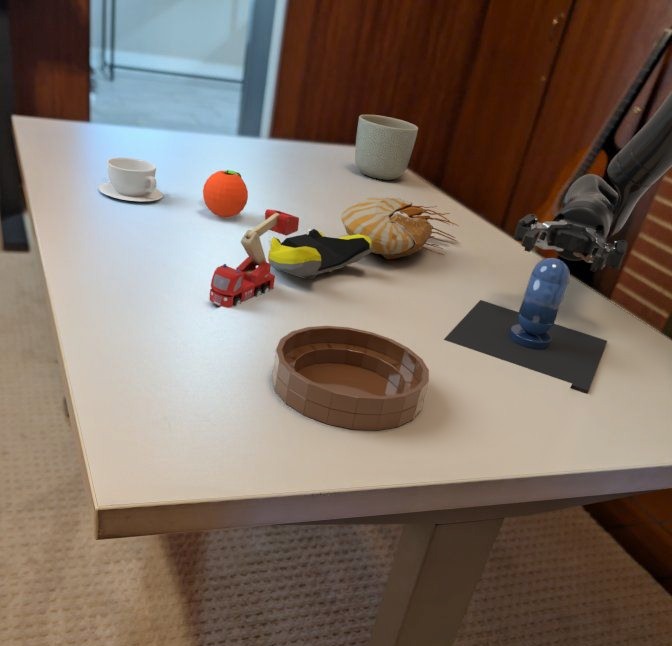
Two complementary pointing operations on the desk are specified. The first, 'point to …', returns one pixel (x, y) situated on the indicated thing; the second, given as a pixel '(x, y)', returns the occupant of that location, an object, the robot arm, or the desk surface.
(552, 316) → the blue pill figure
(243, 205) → the clementine
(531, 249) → the robot arm
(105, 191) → the teacup
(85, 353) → the desk surface
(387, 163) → the planter
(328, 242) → the black yellow sneaker
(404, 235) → the nautilus shell
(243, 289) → the toy fire truck
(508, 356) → the mat
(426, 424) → the desk surface
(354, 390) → the bowl
